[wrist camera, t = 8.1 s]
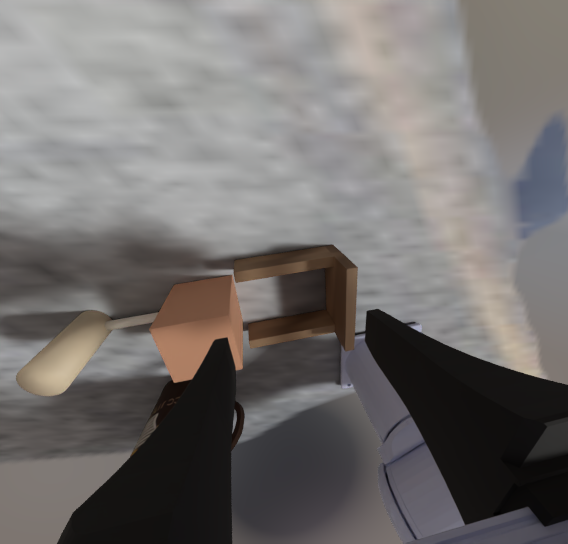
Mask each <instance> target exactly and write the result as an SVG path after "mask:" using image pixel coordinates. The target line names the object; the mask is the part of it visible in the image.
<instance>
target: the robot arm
mask: <svg viewBox="0 0 568 544" xmlns="http://www.w3.org/2000/svg"><path fill="white" fill-rule="evenodd" d="M421 330H422V326H421V325H420V324H419V323H415V324H410V325H406V324H404V323H402V322H401V321H399V320H397V319H395V318H394V317H392V316H390V315H388V314H387V313H385V312H383V311H381V310H379V309H375V310H369V311H367V315H366V330H365V333H364V334H359V335H355V342H354V350H350V351H345V350H344V348H343V346H342V345H341V387H342V388H350V387H354V389H355V391H356V393H357V395H358V397H359V399H360V401H361V403H362V405H363V407H364V409H365V411H366V413H367V415H368V417H369V419H370V421H371V423H372V425H373V427H374V429H375V431H376V433H377V435H378V437H379V440H380V442H381V443H382V446H380V447H379V448H378V449H377V450H378V452H379V454H380V456H381V458H382V460H383V463H381V464H380V465H379V467H378V485H379V490H380V494H381V497H382V500H383V503H384V506H385V508H386V511H387V513H388V515H389V518H390V520H391V522H392V524H393V526H394V528H395V530H396V532H397V534H398V536H399V537H400V539H401V541H402V542H403V544H568V385H565V384H562V383H557V382H554V381H550V380H546V379H542V378H538V377H534V376H531V375H528V374H524V373H521V372H517V371H514V370H511V369H508V368H505V367H502V366H498V365H496V364H493V363H490V362H487V361H484V360H482V359H479V358H476V357H474V356H471V355H468V354H466V353H464V352H461V351H459V350H456V349H454V348H452V347H449V346H447V345H445V344H443V343H441V342H439V341H437V340H435V339H432V338H430V337H428V336H426V335H425V334H423V333H422V332H421ZM235 395H236V367H235V363H234V359H233V356H232V352H231V349H230V345H229V341H228V338H227V337H225V338H220V339H215V340H214V341H213V343H212V345H211V347H210V349H209V351H208V352H207V354H206V356H205V358H204V360H203V362H202V363H201V365H200V367H199V368H198V370H197V372H196V374H195V375H194V377H193V378H192V380H191V382H190V383H189V385H188V386H187V388H186V389H185V391H184V392H183V394H182V395H181V397H180V398H179V399H178V401H177V402H176V404H175V405H174V406H173V408H172V409H171V410H170V412H169V413H168V414H167V416H166V417H165V418H164V419H163V421H162V422H161V423H160V424H159V425H158V427H157V428H156V429H155V430H154V431H153V433H152V434H151V435H150V436H149V437H148V439H147V440H146V441H145V442H144V443H143V444H142V445H141V446H140V447H139V449H138V450H137V451H136V452H135V453H134V454H133V455H132V456H131V457H130V458H129V459H128V460H127V461H126V462H125V463H124V464H123V465H122V467H121V468H119V470H118V471H117V472H116V473H115V474H114V475H112V476H111V478H110V479H109V480H107V481H106V483H104V484H103V485H102V486H101V487H100V488H99V489H98V490H97V491H96V492H95V493H94V494H93V495H91V497H89V498H88V499H87V500H86V501H85V502H84V503H83V504H82V505H81V506H80V507H79V508H78V509H76V510H75V511H74V512H73V514H72V516H71V518H70V520H69V521H68V523H67V525H66V527H65V529H64V530H63V533H62V534H61V537H60V539H59V541H58V543H57V544H232V513H231V442H232V429H233V417H234V406H235Z"/></svg>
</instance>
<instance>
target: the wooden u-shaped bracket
mask: <svg viewBox="0 0 568 544" xmlns="http://www.w3.org/2000/svg"><path fill="white" fill-rule="evenodd" d="M322 268H325V285H326V310H320V311H315V312H309V313H304V314H299V315H293V316H288V317H282V318H277V319H271V320H266V321H260V322H255V323H249V324H248V328H249V344H250V348H256V347H261V346H267V345H272V344H277V343H282V342H287V341H292V340H297V339H303V338H308V337H313V336H318V335H323V334H328V333H333V332H335V333H336V335H337V337H338V339H339V341H340V343H341V345H342V346H343V348H344V350H345V351H350V350H354V342H355V319H356V295H357V271H358V267H357V266H356V265H354V264H353V263H352V262H351V261H350V260H349V259H348V258H347V257H346V256H345V255H344V254H343V253H341V252H340V251H339V250H338V249H337V248H336V247H335V246H334V245H328V246H322V247H316V248H309V249H303V250H296V251H290V252H284V253H277V254H271V255H264V256H258V257H251V258H245V259H239V260H235V262H234V277H235V281H236V283H238V282H244V281H250V280H256V279H262V278H268V277H274V276H280V275H286V274H292V273H298V272H304V271H310V270H316V269H322Z"/></svg>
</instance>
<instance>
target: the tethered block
mask: <svg viewBox="0 0 568 544" xmlns="http://www.w3.org/2000/svg"><path fill="white" fill-rule="evenodd" d="M147 323H153V324H152V325H151V327H150V329H149V330H150V332H151V334H152V337H153V339H154V341H155V343H156V345H157V347H158V349H159V352H160V354H161V356H162V358H163V360H164V362H165V364H166V367H167V369H168V371H169V373H170V375H171V377H172V380H173V382H174V383H177V382H181V381H186V380H191V379H192V378H193V377H194V375H195V374H196V372H197V370H198V368H199V367H200V365H201V363H202V362H203V360H204V358H205V356H206V354H207V352H208V351H209V349H210V347H211V345H212V343H213V341H214V340H215V339H220V338H225V337H227V338H228V341H229V345H230V349H231V352H232V356H233V359H234V363H235V367H236V370H240V369H243V320H242V315H241V311H240V307H239V302H238V298H237V294H236V289H235V285H234V281H233V276H232V275H229V276H223V277H217V278H211V279H205V280H199V281H193V282H187V283H181V284H175V285H174V286H173V288H172V289H171V291H170V293H169V295H168V297H167V298H166V300H165V302H164V304H163V306H162V307H161V309H160V311H159V312H157V313H151V314H145V315H140V316H134V317H128V318H122V319H117V320H111V318H110V317H109V316H108V315H106V314H104V313H102V312H99V311H94V310H90V311H85V312H83V313H81V314H80V315H79V316H78V317H76V318H75V319H74V320H73V321H72V322H71V323H70V324H69V325H68V326H67V327H66V328H65V329H64V330H63V331H62V332H60V333H59V334H58V335H57V336H56V337H55V338H54V339H53V340H52V341H51V342H50V343H49V344H48V345H47V346H46V347H45V348H43V349H42V350H41V351H40V352H39V353H38V354H37V355H36V356H35V357H34V358H33V359H32V360H31V361H30V362H29V363H27V364H26V365H25V366H24V367H23V368H22V369H21V370H20V371H19V372H18V373H17V376H16V380H17V383H18V384H19V386H20V387H21V388H23V389H24V390H26V391H27V392H29V393H32V394H35V395H40V396H54V395H58V394H61V393H63V392H64V391H66V390H67V388H68V387H69V386H70V384H71V383H72V382H73V381H74V379H75V378H76V377H77V375H78V374H79V373H80V371H81V370H82V369H83V368H84V366H85V365H86V364H87V362H88V361H89V360H90V358H91V357H92V356H93V355H94V353H95V352H96V351H97V349H98V348H99V347H100V346H101V344H102V343H103V342H104V340H105V339H106V338H107V336H108V335H109V334H110V333H111V331H112V330H114V329H119V328H125V327H131V326H136V325H142V324H147Z"/></svg>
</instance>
